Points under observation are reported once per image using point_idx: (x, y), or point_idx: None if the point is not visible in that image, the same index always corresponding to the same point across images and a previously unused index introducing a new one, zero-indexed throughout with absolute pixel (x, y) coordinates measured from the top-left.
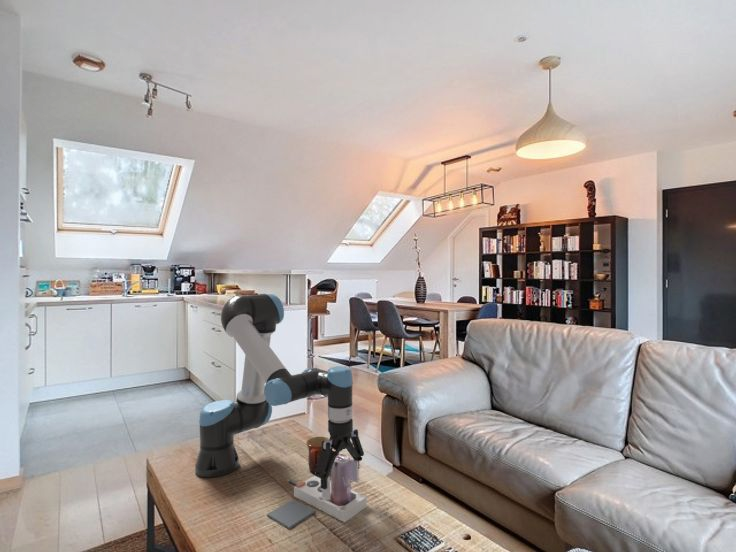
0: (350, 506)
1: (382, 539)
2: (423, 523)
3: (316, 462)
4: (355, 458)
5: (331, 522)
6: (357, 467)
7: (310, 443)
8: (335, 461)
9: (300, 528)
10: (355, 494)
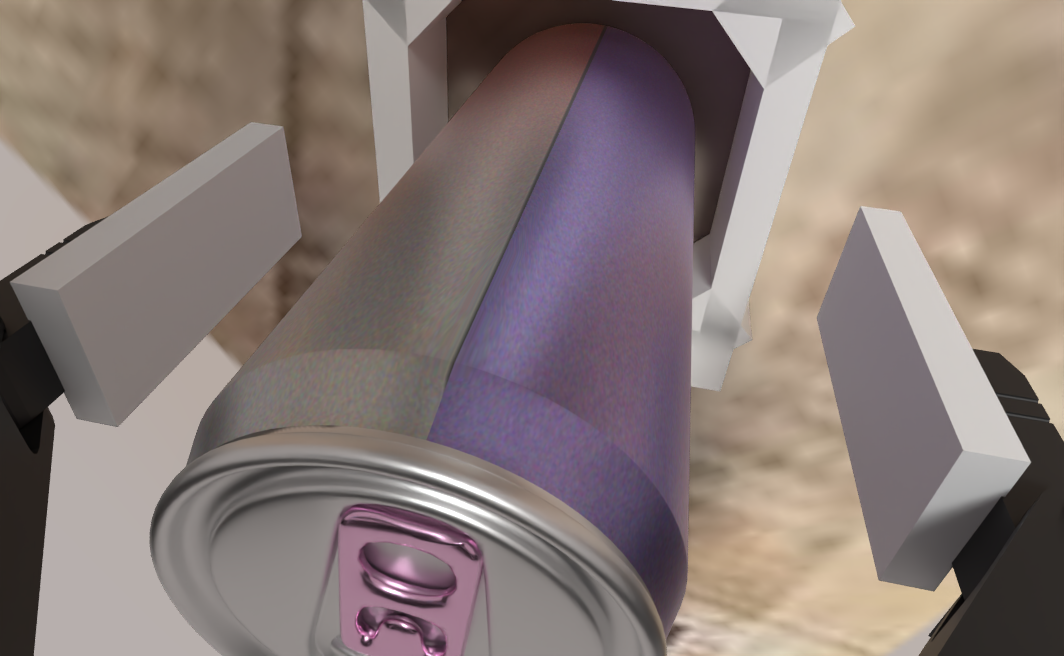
0: None
1: None
2: (711, 638)
3: None
4: (980, 576)
5: (349, 193)
6: (869, 486)
7: None
8: (216, 569)
9: (90, 3)
10: (714, 278)
